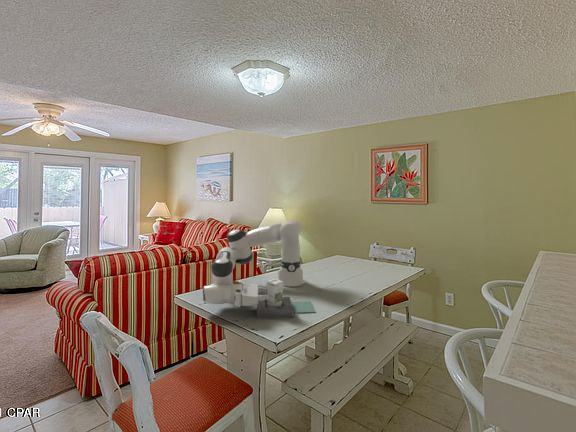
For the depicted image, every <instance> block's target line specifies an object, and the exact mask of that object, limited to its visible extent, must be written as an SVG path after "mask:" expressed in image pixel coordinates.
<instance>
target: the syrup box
mask: <svg viewBox="0 0 576 432" xmlns="http://www.w3.org/2000/svg"><path fill="white" fill-rule="evenodd" d="M265 284H266V285H265V288H266V293H265V295H269V299H266V306H282V303H283V297H284V296H283V295H284V294H283V293H284V286H283V281H280V280H277V278H273V279H270V280H267V281H266V282H265Z"/></svg>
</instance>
